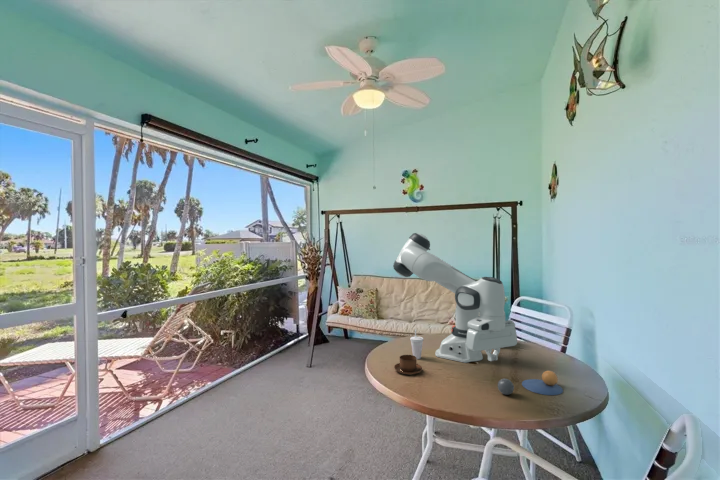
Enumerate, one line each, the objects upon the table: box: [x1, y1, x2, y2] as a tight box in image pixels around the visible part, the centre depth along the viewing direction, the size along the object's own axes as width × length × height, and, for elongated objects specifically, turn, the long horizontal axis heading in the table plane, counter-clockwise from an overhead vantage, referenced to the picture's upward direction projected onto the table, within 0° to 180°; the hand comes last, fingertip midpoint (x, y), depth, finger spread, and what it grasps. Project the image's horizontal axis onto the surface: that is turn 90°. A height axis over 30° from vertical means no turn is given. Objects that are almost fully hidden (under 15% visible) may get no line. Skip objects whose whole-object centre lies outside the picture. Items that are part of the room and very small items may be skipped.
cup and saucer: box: [394, 354, 423, 375], centre depth 148 cm, size 12×12×6 cm
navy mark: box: [521, 378, 564, 396], centre depth 130 cm, size 14×14×1 cm
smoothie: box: [410, 328, 424, 360], centre depth 164 cm, size 6×6×14 cm
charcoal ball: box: [497, 378, 515, 396], centre depth 125 cm, size 6×6×6 cm
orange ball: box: [541, 370, 559, 386], centre depth 132 cm, size 6×6×6 cm
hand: (492, 360), depth 123 cm, fingers closed
